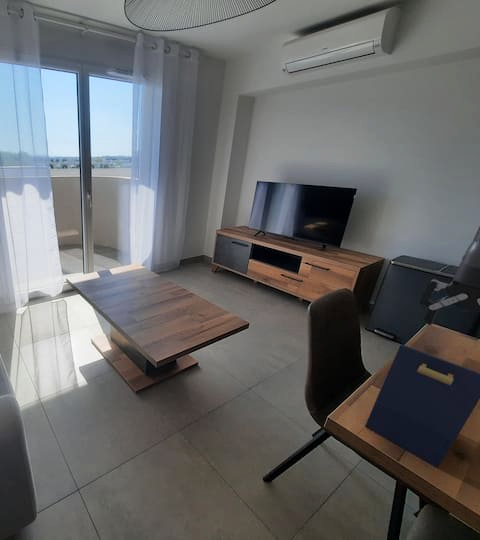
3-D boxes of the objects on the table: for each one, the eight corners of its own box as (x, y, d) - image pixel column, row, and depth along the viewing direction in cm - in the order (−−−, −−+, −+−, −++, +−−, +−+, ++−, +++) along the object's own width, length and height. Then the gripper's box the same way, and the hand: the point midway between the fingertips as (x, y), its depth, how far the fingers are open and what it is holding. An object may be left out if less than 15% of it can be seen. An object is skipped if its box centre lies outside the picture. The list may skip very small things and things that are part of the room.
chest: (382, 398, 85) (393, 375, 81) (449, 431, 74) (464, 406, 71) (364, 426, 76) (375, 401, 73) (437, 468, 66) (454, 441, 63)
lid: (401, 343, 67) (396, 350, 65) (491, 377, 57) (490, 386, 55) (376, 399, 73) (371, 407, 70) (455, 439, 63) (452, 449, 60)
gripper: (549, 270, 55) (507, 340, 61) (442, 251, 66) (416, 313, 72) (549, 280, 51) (504, 354, 57) (436, 258, 62) (408, 323, 68)
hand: (455, 331), depth 65 cm, fingers open, 8 cm apart
